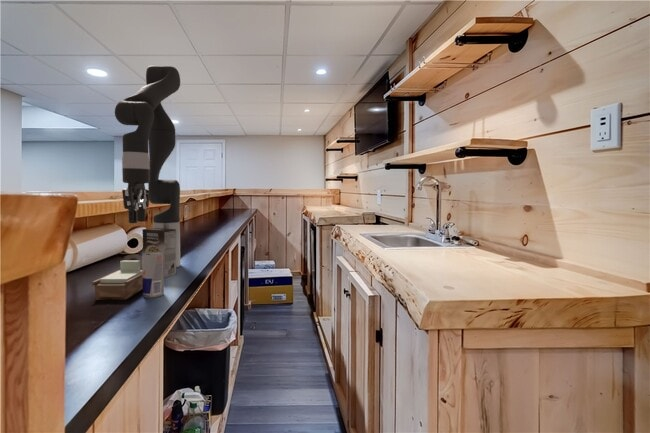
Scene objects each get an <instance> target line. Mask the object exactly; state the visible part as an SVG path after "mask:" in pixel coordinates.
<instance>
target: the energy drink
mask: <svg viewBox="0 0 650 433" xmlns="http://www.w3.org/2000/svg"><path fill="white" fill-rule="evenodd" d="M141 270H142V279H143V289H142V296H143V297H144V298H147V299H148V298H149V299H155V298H159V297H162V296H164V294H165V290H164V288H165V284H164V282H165V281H164V278H165V277H164V274H163V254H162V252H146V253H143V252H142V256H141Z"/></svg>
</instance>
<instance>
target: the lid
mask: <svg viewBox="0 0 650 433" xmlns="http://www.w3.org/2000/svg"><path fill="white" fill-rule="evenodd" d="M119 267H120V269H119V271H118V270H116V271H117V272H115V271H114V272H115V273H113V272H112V273H113V274H111V273H109V274H110V275H109V274H107V275H108V276H106V275H105V276H106V277H104V276H103V277H104V278H102V277H101V278H102V279H100V278H99V279H100V283H125V282H126V281H128V280H130V279H131V278H133V277H135V276H137V275H139V274H141V273H142V269H141V260H129V259H127V260H120V262H119Z"/></svg>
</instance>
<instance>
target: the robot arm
mask: <svg viewBox="0 0 650 433" xmlns="http://www.w3.org/2000/svg"><path fill="white" fill-rule="evenodd" d="M145 81H146V82H145V83H146V85H144V86H142V87H141V88H139V89H138V90H137V91H136V92H135V94H133V95H131V96H127V97H126V98H123V99H121V100H120V101H118V102H117V103H116V106H115V107H114V116H115V119H116V120H117V122H118V123H120V124H121V125H124V126H137V128H136V129H135V130H134V131H131V132H127V133H124V134H123V135H122V158H121V167H122V168H121V172H122V182H123V183H124V184H127V187H126V188H123V189H122V190H121V191H122V194H121V195H122V200H123V208H124V209H125V210H127V211H128V223H129V224H137V223H138V222H139V223H141V222H146V210H147V208H149V207H150V206H149V205H150V204H152V205H169V207H168V208H167V209H166V210H165V211H161V212H159V213H155V214H154V215H153V217H152V222H153V224H152V225H153V227H152V228H165V229H176V268H179V267H181V229H180V228H181V225H180V224H181V223H180V220H181V218H180V216H181V214H180V205H181V204H180V200H181V185H180V183H179V181H178V180H177V179H159V177H160V173H161V170H162V168H163V166H164V164H165V163H166V161H167V160H168V158H169V157H170V155H171V154H172V153H173V151H174V149H175V147H176V127H175V125H174V122H173V120H172V119H171V118H170V116H169V115H168V113H167V112H166V110H165V109H164V107H163V105H162V101H164V100H166V98H168V97H170V96H171V95H173V94H174V93H176V92H178V90H179V89H180V87H181V75H180V72H179V71H178V69H177V68H176V67H174V66H171V65H148V67H147V68H146V73H145ZM145 184H148V186H147V187H148V189H146V186H145Z"/></svg>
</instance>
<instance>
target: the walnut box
mask: <svg viewBox="0 0 650 433" xmlns="http://www.w3.org/2000/svg"><path fill="white" fill-rule="evenodd" d="M119 270H120V269H119ZM119 270H118V269H117V270H116V271H114V272H112V273H108V274H106V275H104V276H102V277H100V278H98V279H95V280H93V281H91V286H94V299H95V301H123V300H124V301H125V300H127V299H129V298H131V297H132V296H134V295H135V294H137V293H138V292H140V291H143V279H142V273H141V274H139V275H137V276H135V277H133V278H131V279H130V280H128V281H126V282H125V283H100V279H102V278H104V277H106V276H108V275H110V274H113V273H115V272H117V271H119Z"/></svg>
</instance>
